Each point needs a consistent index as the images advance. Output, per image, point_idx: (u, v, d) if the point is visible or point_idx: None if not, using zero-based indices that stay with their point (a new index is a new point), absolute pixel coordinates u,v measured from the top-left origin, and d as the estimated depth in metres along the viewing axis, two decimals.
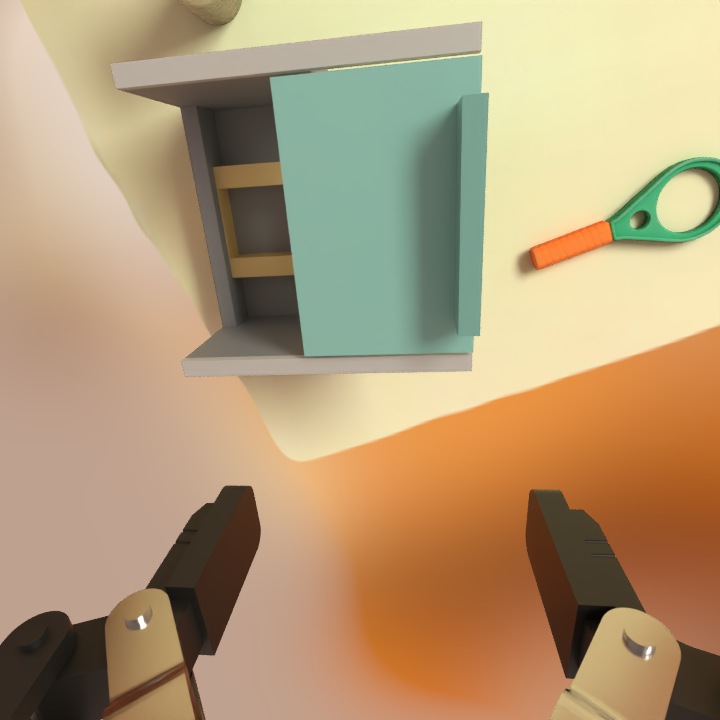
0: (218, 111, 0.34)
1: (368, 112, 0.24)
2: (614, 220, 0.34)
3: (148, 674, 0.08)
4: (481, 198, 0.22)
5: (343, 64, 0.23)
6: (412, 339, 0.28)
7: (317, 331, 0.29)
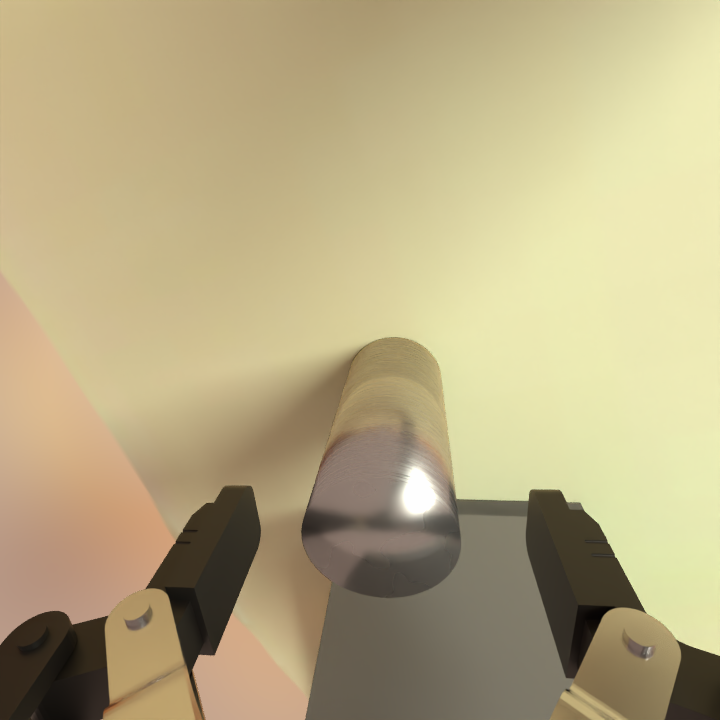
0: None
1: None
2: None
3: (148, 674, 0.08)
4: None
5: None
6: None
7: None
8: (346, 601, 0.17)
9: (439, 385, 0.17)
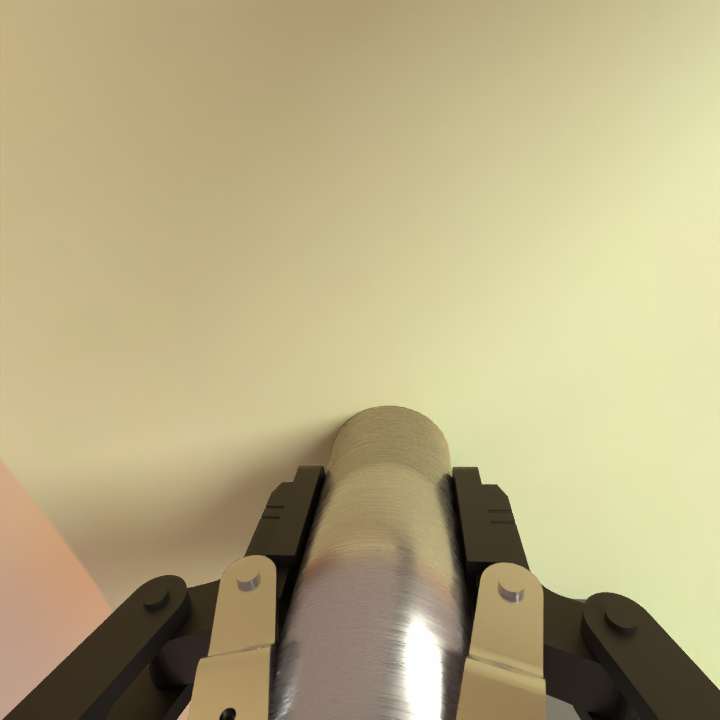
0: None
1: None
2: None
3: (243, 639, 0.08)
4: None
5: None
6: None
7: None
8: None
9: (449, 476, 0.13)
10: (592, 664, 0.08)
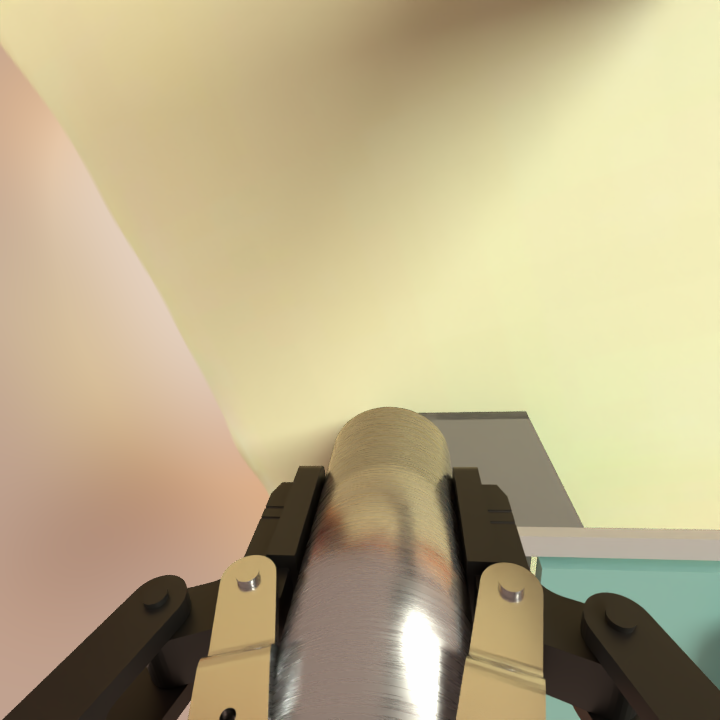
0: None
1: (654, 604, 0.20)
2: None
3: (243, 639, 0.08)
4: None
5: (630, 557, 0.20)
6: None
7: None
8: None
9: (449, 477, 0.13)
10: (592, 664, 0.08)
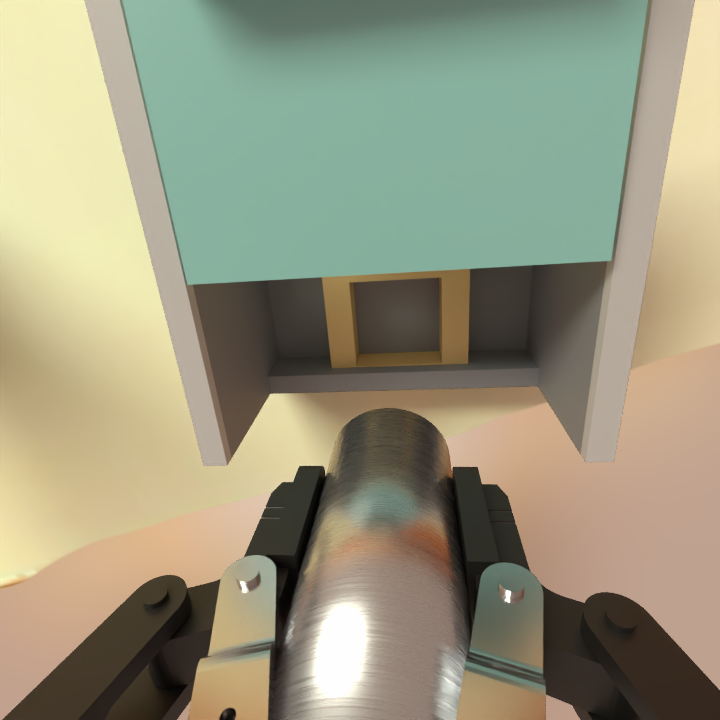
0: (278, 352, 0.31)
1: (210, 135, 0.15)
2: None
3: (243, 639, 0.08)
4: None
5: (161, 179, 0.17)
6: (610, 20, 0.13)
7: (563, 233, 0.16)
8: None
9: (449, 479, 0.13)
10: (592, 664, 0.08)
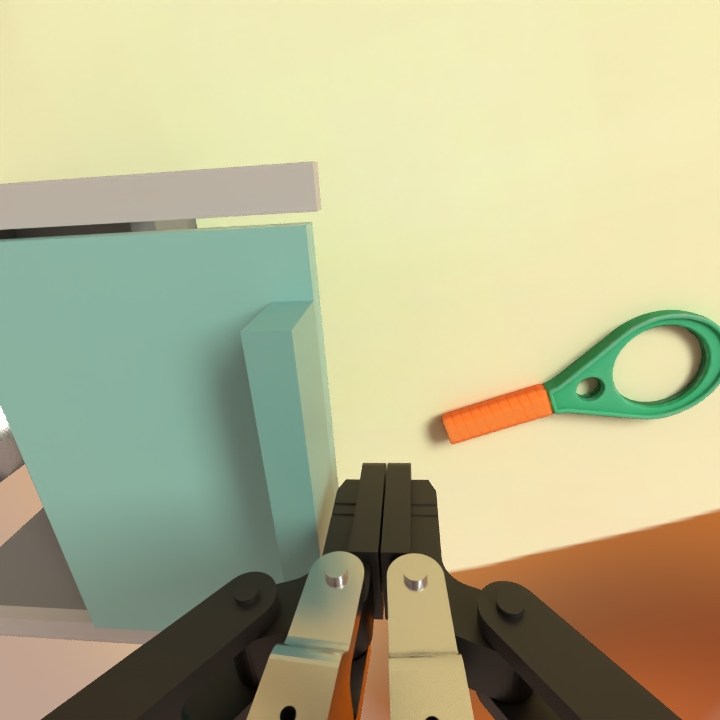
0: None
1: (118, 309, 0.13)
2: (553, 389, 0.24)
3: (320, 636, 0.08)
4: (306, 496, 0.12)
5: (72, 224, 0.13)
6: None
7: (106, 600, 0.18)
8: None
9: None
10: (482, 648, 0.08)
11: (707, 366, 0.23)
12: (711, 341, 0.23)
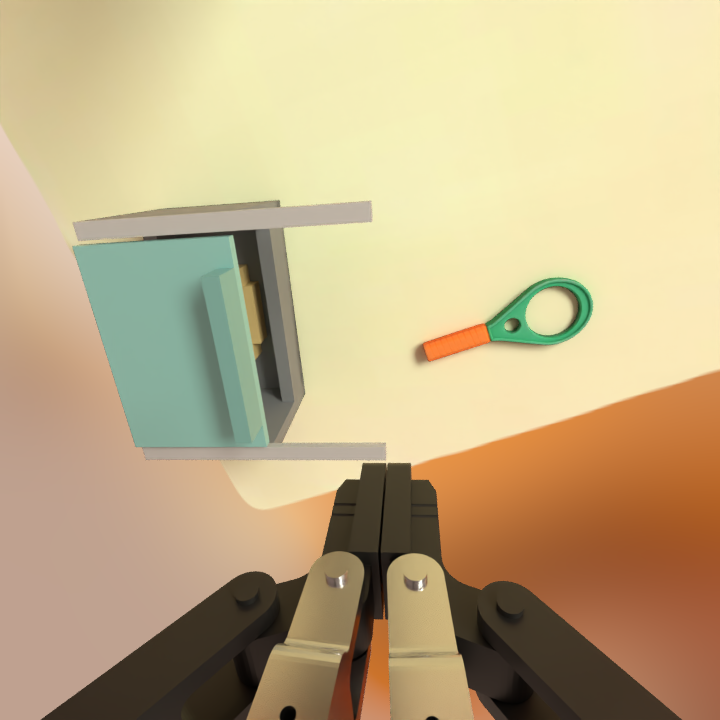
0: None
1: (151, 273, 0.30)
2: (490, 325, 0.40)
3: (320, 636, 0.08)
4: (230, 347, 0.29)
5: (262, 228, 0.28)
6: (217, 436, 0.35)
7: (142, 428, 0.35)
8: None
9: None
10: (482, 648, 0.08)
11: (580, 312, 0.39)
12: (581, 296, 0.39)
